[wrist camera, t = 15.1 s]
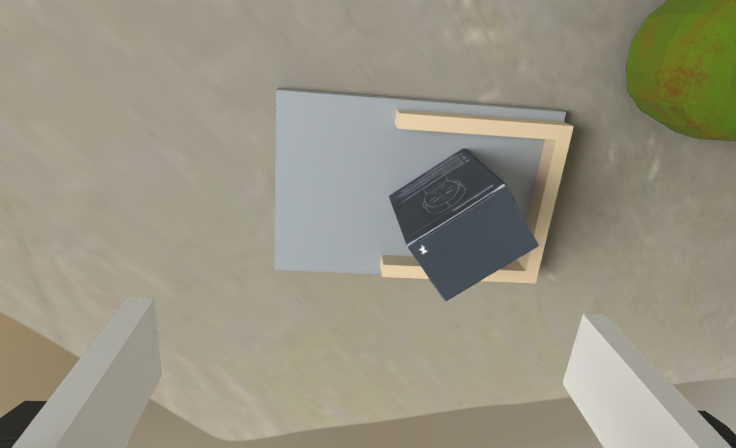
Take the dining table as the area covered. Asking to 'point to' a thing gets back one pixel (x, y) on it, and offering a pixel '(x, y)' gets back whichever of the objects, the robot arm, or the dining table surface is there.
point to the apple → (687, 68)
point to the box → (461, 223)
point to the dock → (399, 174)
